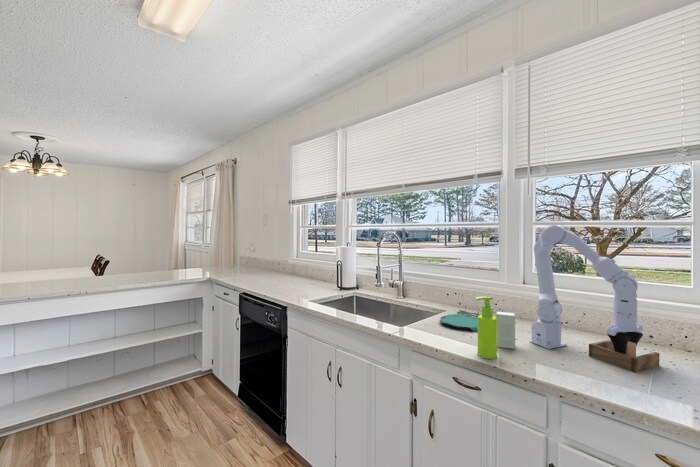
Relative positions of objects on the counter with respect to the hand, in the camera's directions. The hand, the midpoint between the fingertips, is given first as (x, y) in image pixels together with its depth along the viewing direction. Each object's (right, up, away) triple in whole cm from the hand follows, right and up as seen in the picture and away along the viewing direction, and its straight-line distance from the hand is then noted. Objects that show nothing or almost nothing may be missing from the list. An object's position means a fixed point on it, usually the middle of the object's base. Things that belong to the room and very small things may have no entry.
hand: (624, 354), depth 101 cm
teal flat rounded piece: (-35, -2, +43) cm, 55 cm away
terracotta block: (0, -2, 0) cm, 2 cm away
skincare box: (-32, -2, +13) cm, 35 cm away
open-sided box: (0, -2, 0) cm, 2 cm away
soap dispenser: (-43, -2, +5) cm, 43 cm away
